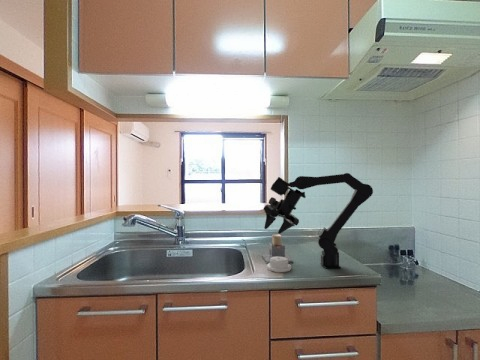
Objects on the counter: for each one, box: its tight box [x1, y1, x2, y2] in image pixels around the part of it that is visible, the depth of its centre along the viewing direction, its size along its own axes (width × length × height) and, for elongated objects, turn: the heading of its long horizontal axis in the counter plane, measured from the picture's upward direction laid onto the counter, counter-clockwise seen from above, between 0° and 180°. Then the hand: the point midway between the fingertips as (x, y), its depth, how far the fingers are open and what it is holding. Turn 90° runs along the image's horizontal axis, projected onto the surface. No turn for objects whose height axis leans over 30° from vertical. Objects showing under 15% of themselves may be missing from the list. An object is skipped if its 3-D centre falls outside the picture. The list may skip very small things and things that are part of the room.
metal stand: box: [261, 242, 294, 265], centre depth 126 cm, size 12×12×7 cm
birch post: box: [271, 233, 283, 246], centre depth 126 cm, size 4×4×10 cm
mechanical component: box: [266, 256, 292, 273], centre depth 113 cm, size 10×4×10 cm
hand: (272, 231), depth 122 cm, fingers open, 9 cm apart
